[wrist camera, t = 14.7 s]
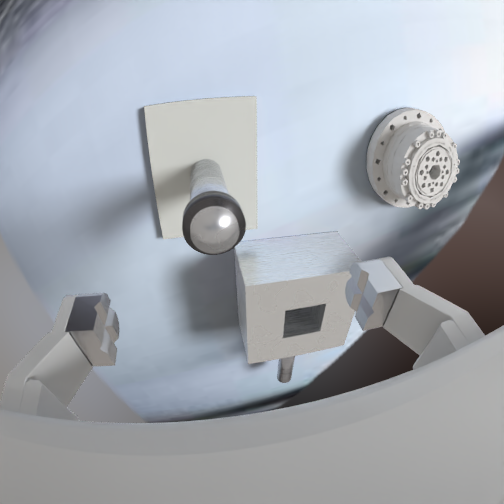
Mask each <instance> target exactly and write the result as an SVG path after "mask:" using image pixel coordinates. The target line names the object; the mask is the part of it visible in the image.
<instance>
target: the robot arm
mask: <svg viewBox="0 0 504 504" xmlns="http://www.w3.org/2000/svg"><path fill="white" fill-rule="evenodd" d="M349 272H350V274H351V276H352V277H351V278H350V279H349V280H348V281H347V283H346V287H345V295H346V300H347V303H348V304H349V306H350V308H352V309H353V310H355V311H356V316H355V317H356V319H357V321H358V323H359V325H360V326H361V328H362V330H363V331H364V330H369V329H373V328H377V327H382V326H383V328H385V329H386V330H387V331H389V332H390V333H391V334H393V335H394V336H395V337H397V338H398V339H399V340H400V341H402V342H403V343H404V344H406V345H407V346H408V347H410V348H411V349H412V350H413V351H415V352H416V353H417V354H419V355H420V357H419V358H418V360H417V361H416V362H415V364H414V366H413V369H414V370H412V371H409V372H406V373H404V374H401V375H399V376H396V377H393V378H390V379H388V380H385V381H382V382H379V383H376V384H373V385H370V386H367V387H364V388H361V389H357V390H354V391H351V392H347V393H344V394H340V395H337V396H333V397H330V398H326V399H322V400H318V401H314V402H310V403H305V404H301V405H297V406H292V407H288V408H282V409H277V410H272V411H267V412H261V413H255V414H249V415H242V416H235V417H227V418H219V419H210V420H199V421H186V422H169V423H102V422H87V421H79V418H78V417H77V416H76V415H75V414H74V413H73V412H72V411H71V410H70V409H69V408H67V406H68V405H69V403H70V402H71V400H72V399H73V397H74V396H75V394H76V392H77V391H78V389H79V388H80V386H81V385H82V383H83V382H84V380H85V379H86V377H87V376H88V374H89V373H90V371H91V370H92V368H93V367H92V366H112V365H115V361H116V353H117V348H116V346H115V344H114V343H115V341H116V340H117V339H118V338H119V321H118V317H117V315H116V312H115V311H114V310H113V309H112V308H110V307H109V306H110V299H109V297H108V295H107V294H106V293H92V294H78V295H66V296H65V297H64V298H63V300H62V303H61V306H60V309H59V311H58V314H57V317H56V320H55V323H54V326H53V329H52V332H48V333H47V334H46V335H45V336H44V337H43V338H42V339H41V340H40V341H39V342H38V343H37V344H36V345H35V347H33V348H32V349H31V351H29V353H28V354H27V355H26V356H25V357H24V358H23V359H22V360H21V361H20V362H19V363H18V364H17V365H16V366H15V368H14V369H13V370H12V371H11V372H10V373H9V374H8V375H7V378H6V382H5V385H4V389H3V393H2V397H1V401H0V504H504V326H502V327H500V328H498V329H497V330H495V331H493V332H491V333H490V334H488V335H486V336H485V335H484V334H483V332H482V331H481V329H480V328H479V327H478V325H477V324H476V323H475V321H474V320H473V318H472V317H471V316H470V315H469V313H468V312H467V311H465V310H463V309H461V308H460V307H458V306H456V305H454V304H452V303H451V302H449V301H447V300H445V299H443V298H441V297H440V296H437V295H436V294H434V293H432V292H430V291H428V290H426V289H424V288H423V287H421V286H418V285H415V286H414V284H413V283H412V282H411V280H410V279H409V278H408V277H407V275H406V274H405V273H404V272H403V270H402V269H401V268H400V267H399V265H398V264H397V263H396V262H395V260H394V259H393V258H391V257H385V258H380V259H375V260H368V261H362V262H356V263H353V264H352V265H351V268H350V271H349Z"/></svg>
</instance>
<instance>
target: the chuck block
mask: <svg viewBox="0 0 504 504" xmlns="http://www.w3.org/2000/svg"><path fill="white" fill-rule="evenodd" d="M234 255H235V272H236V289H237V305H238V320H239V325H240V329H241V334H242V338H243V343H244V347H245V352H246V356H247V361H248V364H252V363H258V362H264V361H270V360H275V359H279V364H278V374H277V379H278V380H279V381H280V382H282V383H286V382H289V381H290V380H291V376H292V370H293V365H294V359H295V356H296V355H301V354H306V353H311V352H315V351H320V350H324V349H329V348H333V347H337V346H341V345H344V343H345V340H346V337H347V334H348V331H349V328H350V325H351V321H352V318H353V315H354V312H355V310H353V309H352V308H350V306H349V304H348V303H347V300H346V295H345V287H346V283H347V281H348V280H349V279H350V278H351V277H352V276H351V274H350V272H349V271H350V268H351V265H352V264H353V263H356V262H362V261H361V260H360V259H359V257H358V256H357V255H356V254H355V252H354V251H353V250H352V249H351V247H350V246H349V245H348V244H347V242H346V241H345V240H344V239H343V238H342V236H341V235H340V234H339V233H338V231H336V232H326V233H316V234H307V235H297V236H288V237H279V238H270V239H261V240H252V241H243V242H239V244H238V245H237V246H235V247H234Z"/></svg>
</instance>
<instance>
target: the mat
mask: <svg viewBox="0 0 504 504" xmlns="http://www.w3.org/2000/svg"><path fill="white" fill-rule="evenodd" d="M144 111H145V121H146V130H147V139H148V147H149V155H150V163H151V170H152V177H153V183H154V190H155V196H156V202H157V208H158V214H159V219H160V225H161V230H162V235H163V239H170V238H178V237H184V236H183V232H182V220H183V212H184V209H185V207H186V205H187V204H188V203H189V201H190V172H191V169H192V167H193V165H194V164H195V163H196V162H198V161H200V160H203V159H210V160H213V161H215V162H216V163H218V165H219V166H220V168H221V170H222V174H223V177H224V180H225V183H226V186H227V190H228V193H229V195H231V196H232V197H233V198H235V199H236V200H237V202H238V203H239V205H240V207H241V209H242V212H243V214H244V217H245V221H246V229H245V230H249V229H257V103H256V96H241V97H221V98H207V99H196V100H186V101H177V102H169V103H162V104H155V105H148V106H144Z"/></svg>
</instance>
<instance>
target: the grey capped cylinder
mask: <svg viewBox="0 0 504 504" xmlns="http://www.w3.org/2000/svg"><path fill="white" fill-rule="evenodd" d="M245 229H246V221H245V217H244V214H243V212H242V209H241V207H240V205H239V203H238V202H237V200H236V199H235V198H233V197H232V196H231V195H229V193H228V190H227V186H226V183H225V180H224V177H223V174H222V170H221V168H220V166H219V165H218V163H216V162H215V161H213V160H210V159H203V160H200V161H198V162H196V163H195V164H194V165H193V167H192V169H191V172H190V201H189V203H188V204H187V205H186V207H185V209H184V212H183V220H182V232H183V236H184V238H185V240H186V242H187V243H188V244H189V245H190V246H191V247H192V248H193V249H194V250H196V251H198V252H200V253H203V254H209V255H217V254H222V253H225V252H227V251H229V250H231V249H233V248H234V247H235V246H237V245H238V244H239V242H240V241H241V240H242V238H243V236H244V233H245Z"/></svg>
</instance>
